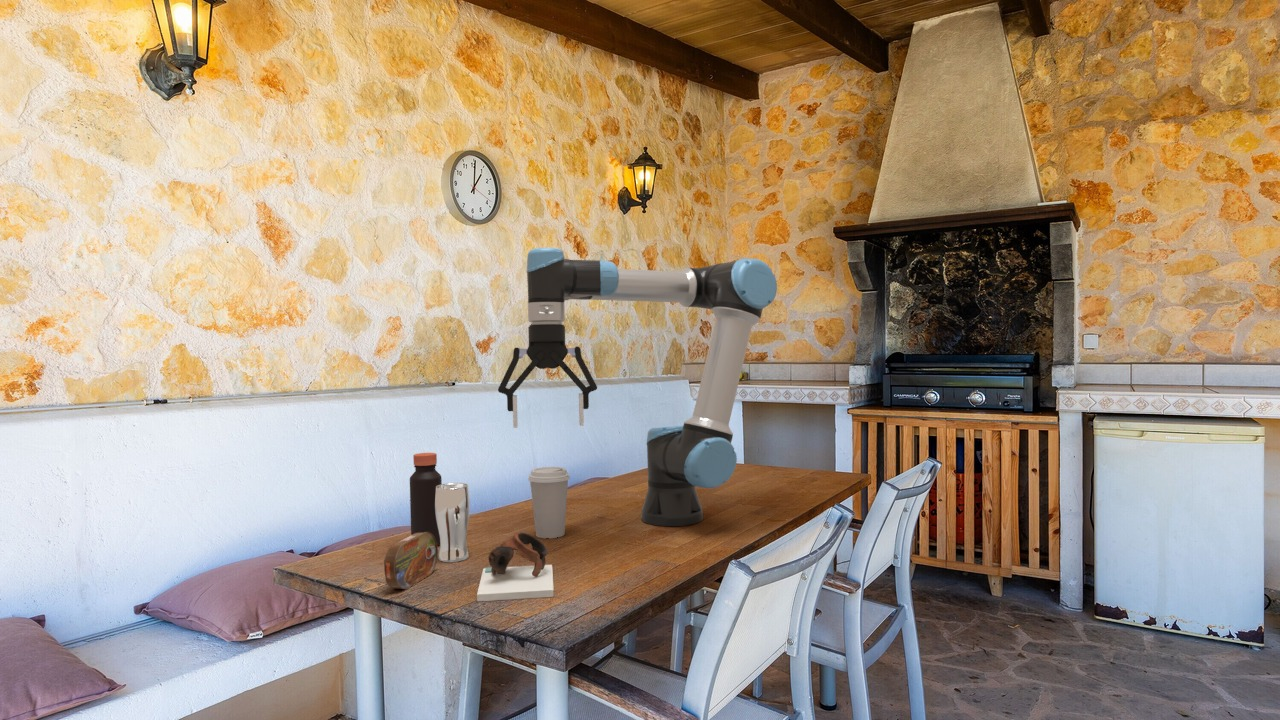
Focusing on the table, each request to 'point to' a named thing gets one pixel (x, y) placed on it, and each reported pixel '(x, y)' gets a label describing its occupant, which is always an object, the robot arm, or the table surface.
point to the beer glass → (452, 520)
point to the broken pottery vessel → (506, 550)
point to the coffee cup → (549, 500)
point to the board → (515, 584)
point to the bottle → (424, 494)
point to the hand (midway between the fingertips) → (548, 426)
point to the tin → (410, 560)
